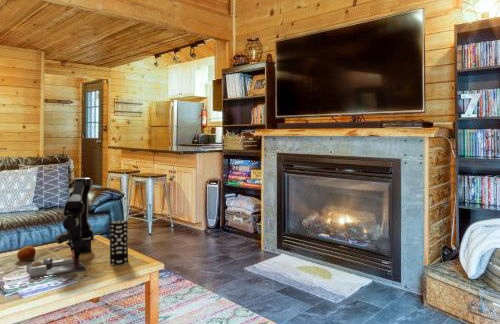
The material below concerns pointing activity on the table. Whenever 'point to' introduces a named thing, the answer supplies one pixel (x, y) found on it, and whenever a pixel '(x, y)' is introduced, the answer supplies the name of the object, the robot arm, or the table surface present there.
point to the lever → (59, 261)
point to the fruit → (26, 253)
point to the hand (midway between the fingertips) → (75, 258)
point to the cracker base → (55, 269)
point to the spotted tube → (118, 242)
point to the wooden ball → (37, 264)
